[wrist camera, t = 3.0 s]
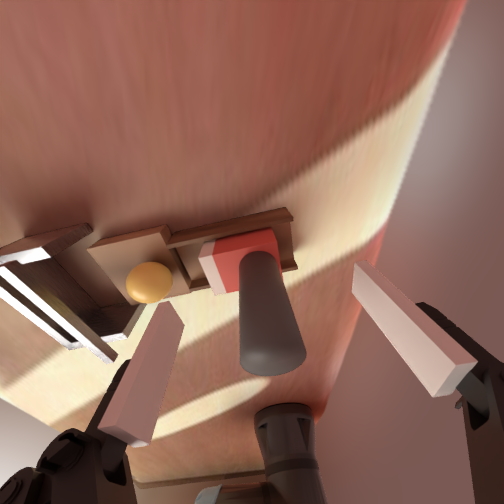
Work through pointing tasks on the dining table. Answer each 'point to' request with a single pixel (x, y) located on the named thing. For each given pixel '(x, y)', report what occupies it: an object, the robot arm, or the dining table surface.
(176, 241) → the rail
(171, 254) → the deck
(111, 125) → the dining table surface
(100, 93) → the dining table surface
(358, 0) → the dining table surface
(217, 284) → the post on red base
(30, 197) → the dining table surface
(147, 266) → the ball
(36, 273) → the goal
